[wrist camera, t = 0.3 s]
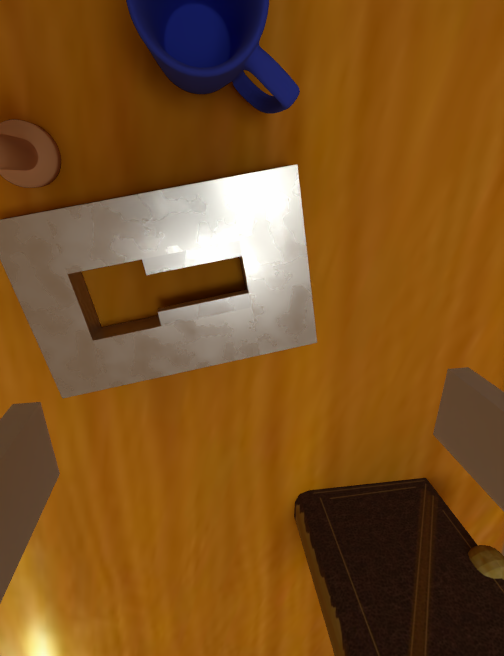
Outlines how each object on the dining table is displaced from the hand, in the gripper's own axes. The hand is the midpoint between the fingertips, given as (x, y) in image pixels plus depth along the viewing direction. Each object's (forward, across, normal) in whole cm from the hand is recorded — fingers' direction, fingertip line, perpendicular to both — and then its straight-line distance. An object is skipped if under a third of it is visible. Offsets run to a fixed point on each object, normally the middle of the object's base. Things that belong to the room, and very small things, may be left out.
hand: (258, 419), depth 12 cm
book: (+27, +20, -36) cm, 49 cm away
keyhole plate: (+27, -4, -2) cm, 27 cm away
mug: (+27, +1, +16) cm, 31 cm away
